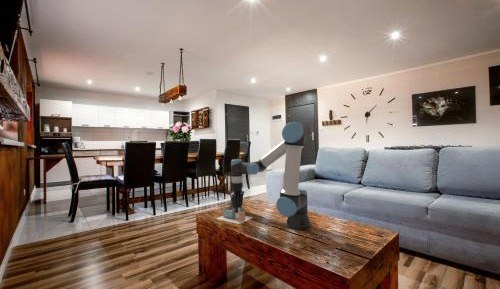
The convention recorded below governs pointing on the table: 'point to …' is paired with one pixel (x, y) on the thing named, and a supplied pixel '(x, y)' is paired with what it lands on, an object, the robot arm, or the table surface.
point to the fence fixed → (229, 213)
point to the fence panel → (241, 216)
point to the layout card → (234, 219)
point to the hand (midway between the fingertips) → (237, 217)
